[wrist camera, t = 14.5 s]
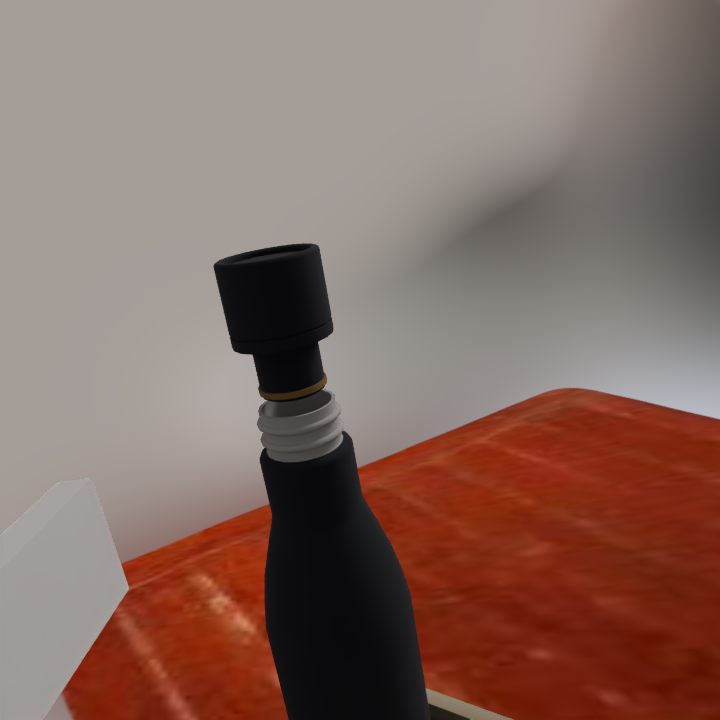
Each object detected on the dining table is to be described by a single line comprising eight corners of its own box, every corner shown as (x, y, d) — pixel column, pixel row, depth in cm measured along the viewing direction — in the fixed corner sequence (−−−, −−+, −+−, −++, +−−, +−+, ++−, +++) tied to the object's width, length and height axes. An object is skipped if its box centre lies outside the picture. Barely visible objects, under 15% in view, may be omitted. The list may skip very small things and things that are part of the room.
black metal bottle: (450, 922, 28) (336, 255, 19) (312, 914, 29) (143, 282, 20) (451, 785, 34) (364, 229, 25) (336, 783, 35) (215, 251, 26)
